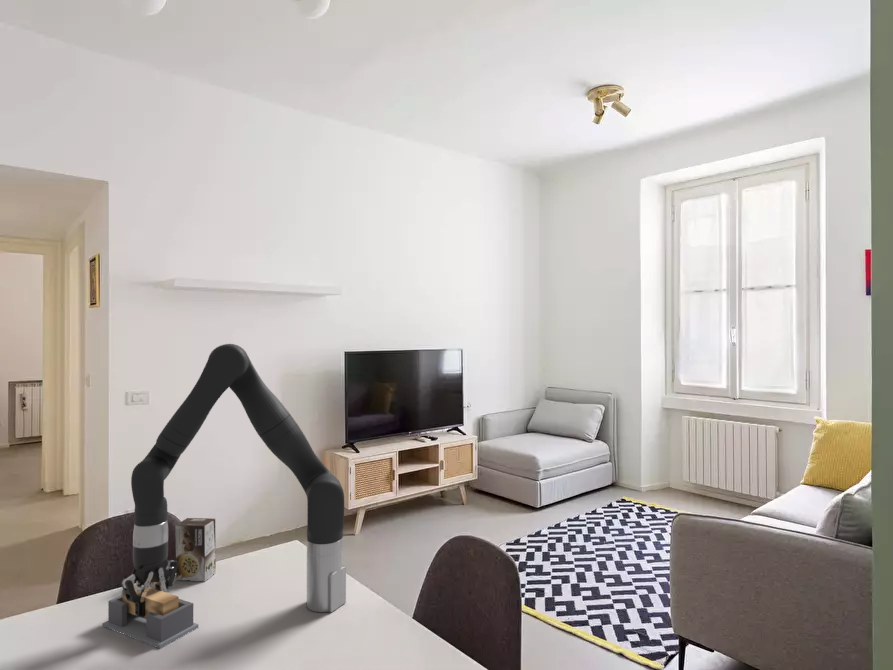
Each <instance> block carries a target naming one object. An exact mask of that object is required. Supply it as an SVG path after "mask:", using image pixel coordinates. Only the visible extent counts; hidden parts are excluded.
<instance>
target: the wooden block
mask: <svg viewBox="0 0 893 670" xmlns="http://www.w3.org/2000/svg"><path fill="white" fill-rule="evenodd" d="M135 585H136V584H135ZM135 585H134V589H135ZM142 586H144V585H142ZM121 591H122V594H121V595H122V602H125V603H127V612H128V613H131V614H133V615H136V614H135V603H133V602H130V601H128V600H127V599H126V596H125V594H124V591H123V589H122V590H121ZM135 591H136V590H135ZM179 599H180V597H179V596H178V595H175V594H172V593H170V592H167V591H165V592H163V591H160V590H157V589H155V587H154V588H153V587H151V586H150V587H149V591H147V594H146V598H145V616H144V617H142V618H144V619H146V615H147V614H148V613H150V612H153V613H156V614H159V615H162V616H163V615H165V614H167V613H169V612H171V611H173V610H175V609H177V608H178V603H179ZM136 616H137V615H136Z"/></svg>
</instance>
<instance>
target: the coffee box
mask: <svg viewBox="0 0 893 670" xmlns="http://www.w3.org/2000/svg"><path fill="white" fill-rule="evenodd" d="M174 527H175V561H177V562H178V567H177V571H176V574H175V581H176V580H190V581H189V582H206V581H207V579H208V580H209V579H210V578H211V577H213V576H214V575H215V574H216V570H217V569H216V562H217V561H216V557H217V556H216V518H202V517H187V518H184V519H183V520H182V521H180V522H179V523H177V524H175V526H174ZM213 574H214V575H213ZM212 575H213V576H212Z"/></svg>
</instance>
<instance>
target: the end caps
mask: <svg viewBox="0 0 893 670" xmlns="http://www.w3.org/2000/svg"><path fill="white" fill-rule="evenodd" d="M107 603H108V604H107V605H108V609H107V610H108V612H107V613H108V620H106V621H105V622H103V623H102V627H103V626H104V628H106V627H107V629H109V628H110V629H109V630H111V629H113V630H112V631H114V630H115V631H114V632H116V631H118V632H117V633H119V632H121V633H124V634H126V635H125V636H127V635H129V636H131V637H130V638H132V637H133V639H134V638H136V639H135V640H137V639H138V641H139V640H140V641H139V642H142V641H143V643H145V642H146V643H145V644H147V643H148V645H150V644H151V645H150V646H152V645H154V646H153V647H155V646H156V647H155V648H157V647H159V648H158V649H160V648H161V647H163V646H164V647H166V646H168V645H170V644H171V643H170V642H172V641H173V642H175V641H177V640H179V639H181V638H182V637H184V636H185V634H186V635H188V634H189V633H188V632H190V633H191V632H193V631H195V630H196V628H197V629H199V623H195V622H194V602H190V601H187V600H185V599H182V598H179V603H178V608H177V609H175V610H173V611H171V612H169V613H167V614H165V615H163V616H162V615H159V614H156V613H153V612H150V613H148V614H147V615H146V619H144V618H141V617H139V616H136V615H133V614H131V613H128V612H127V603H125V602H122V594H120V595H118V596H116V597H114V598H112V599H109V600H108V602H107ZM194 629H195V630H194ZM192 630H193V631H192ZM121 633H120V634H121ZM187 633H188V634H187ZM124 634H123V635H124ZM183 635H184V636H183ZM129 636H128V637H129ZM180 637H181V638H180ZM178 638H179V639H178ZM176 639H177V640H176ZM174 640H175V641H174ZM173 642H172V643H173ZM169 643H170V644H169ZM167 644H168V645H167ZM165 645H166V646H165ZM164 647H163V648H164ZM161 649H162V648H161Z"/></svg>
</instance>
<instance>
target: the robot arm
mask: <svg viewBox="0 0 893 670" xmlns="http://www.w3.org/2000/svg"><path fill="white" fill-rule="evenodd" d="M228 389H230V390H231V391H232V392H233V393H234V394H235V396H236V397H237V398H238V400H239V401H240V403H241V405H242V407H243V409H244V411H245V414H246V415H247V418H248V419H249V422H250V423H251V426H252V427H253V429H254V430H255V432H256V434H257V435H258V436H259V438H260V439H261V440H262V442H263V443H264V444H265V446H266V447H267V448H268V449H269V451H270V452H272V454H273V455H274V456H275V457H276V458H277V459H279V461H280V462H282V463H283V464H284V465H285V467H286V466H287V468H288V469H289V470H290V471H291V472H292V473H293V475H294V476H295V477H296V479H297V481H298V483H299V484H300V485H301V488H302V489H303V491H304V493H305V495H306V500H307V501H306V502H307V514H306V515H307V516H306V517H307V524H306V607H307V608H308V610H310V611H312V612H315V613H324V612H325V613H326V612H328V613H333V612H334V611H336V610H337V609H338V608H340V607H341V606H343V605H344V604H346V602H347V567H346V565H344V563H343V561H344V560H343V559H344V557H343V554H344V553H343V552H344V549H343V548H344V539H343V537H344V528H345V492H344V489H343V486H342V484H341V482H340V480H339V479H338V478H337V477H336V476H335V475H334V474H333V473H332V472H331V471H330V469H329V468H327V467H326V466H325V464H324V463H323V462H322V461H321V460H320V458H319V457H318V456H317V455H316V453H315V451H314V450H313V448H312V446H311V444H310V442H309V440H308V439H307V437H306V436H305V434H304V432H303V429H301V428H300V426H299V425H298V423H297V421H296V420H295V418H294V417H293V416H292V415H291V413H290V412H289V410H288V409H287V408H286V407H285V406H284V405H283V402H281V401H280V400H279V398H278V397H277V396H276V395H275V394H274V393H273V392H272V391H271V389H270V388H268V386H267V385H266V383H265V382H264V381H263V380H262V378H261V376H260V374H259V373H258V371H257V370H256V368H255V366H254V365H253V363H252V361H251V359H250V357H249V355H248V353H247V351H245V349H244V348H242V347H241V346H240V345H238V344H235V343H225V344H221V345H219V346H216V347H215V348H214V349H213V350H212V351H211V352H210V354H209V355H208V359H207V361H206V362H205V366H204V367H203V369H202V372H201V374H200V375H199V378H198V380H197V381H196V383H195V385H194V386H193V388H192V390H191V391H190V393H189V394H188V395H187V397H186V398H185V399H184V401H183V402H182V404H181V405H180V406H179V407H178V409H176V411H175V412H174V414H173V415H172V416H171V418H170V419H169V420H168V422H167V423H166V425H164V428H163V429H162V430H161V432H160V433H159V435H158V436H157V438H156V441H155V444H154V445H153V446H152V448H151V449H149V450H150V451H149V452H148V453H147V454H146V455H145V457H144V458H143V460H141V461H140V462H139V463H138V464H136V466H135V467H134V468H133V470H132V472H131V478H130V481H131V482H130V484H131V485H130V486H131V493H132V498H133V503H134V512H133V513H134V516H133V517H134V520H133V523H134V524H133V532H132V563H133V569H132V572H131V575H129V576H128V577H126V578H124V577H123V578H122V579H121V580H120V585H121V589H122V590H123V591H124V594H125V596H126V599H127V600H128V601H130V602H133V603H135V614H136V615H137V616H139V617H141V618H142V617H144V616H145V598H146V594H147V591H149V587H151V585H152V584H153V585H154V589H157V590H160V591H163V592H167V589H169V588H171V587H173V586H174V585H173V584H174V582H175V579H176V571H177V567H178V562H177V561H176V560H173V559H169V560H168V557H169V523H168V501H167V498H166V497H165V489H164V485H165V482H164V481H165V480H166V479H167V478H168V476H169V475H170V474H171V473H172V470H174V467H175V465H176V464H177V462H178V460H179V459H180V457H181V455H182V454H183V453H184V452H185V451H186V449H187V448H188V447H189V445H190V444H191V442H193V440H194V438H195V436H197V434H198V433H199V430H200V429H201V427H202V426H203V424H204V422H205V421H206V419H207V417H209V414H210V412H211V411H212V409H213V407H214V406H215V405H216V404H217V402H218V400H219V399H220V398H221V397H222V395H223V394H224V393H225V391H227V390H228ZM135 581H136V583H135ZM134 585H135V589H134ZM142 585H144V586H142ZM135 590H136V591H135Z"/></svg>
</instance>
